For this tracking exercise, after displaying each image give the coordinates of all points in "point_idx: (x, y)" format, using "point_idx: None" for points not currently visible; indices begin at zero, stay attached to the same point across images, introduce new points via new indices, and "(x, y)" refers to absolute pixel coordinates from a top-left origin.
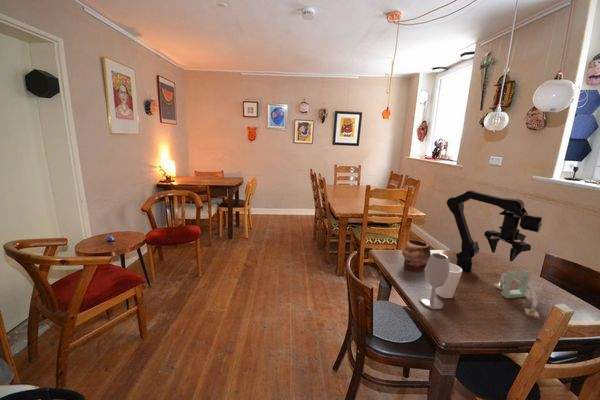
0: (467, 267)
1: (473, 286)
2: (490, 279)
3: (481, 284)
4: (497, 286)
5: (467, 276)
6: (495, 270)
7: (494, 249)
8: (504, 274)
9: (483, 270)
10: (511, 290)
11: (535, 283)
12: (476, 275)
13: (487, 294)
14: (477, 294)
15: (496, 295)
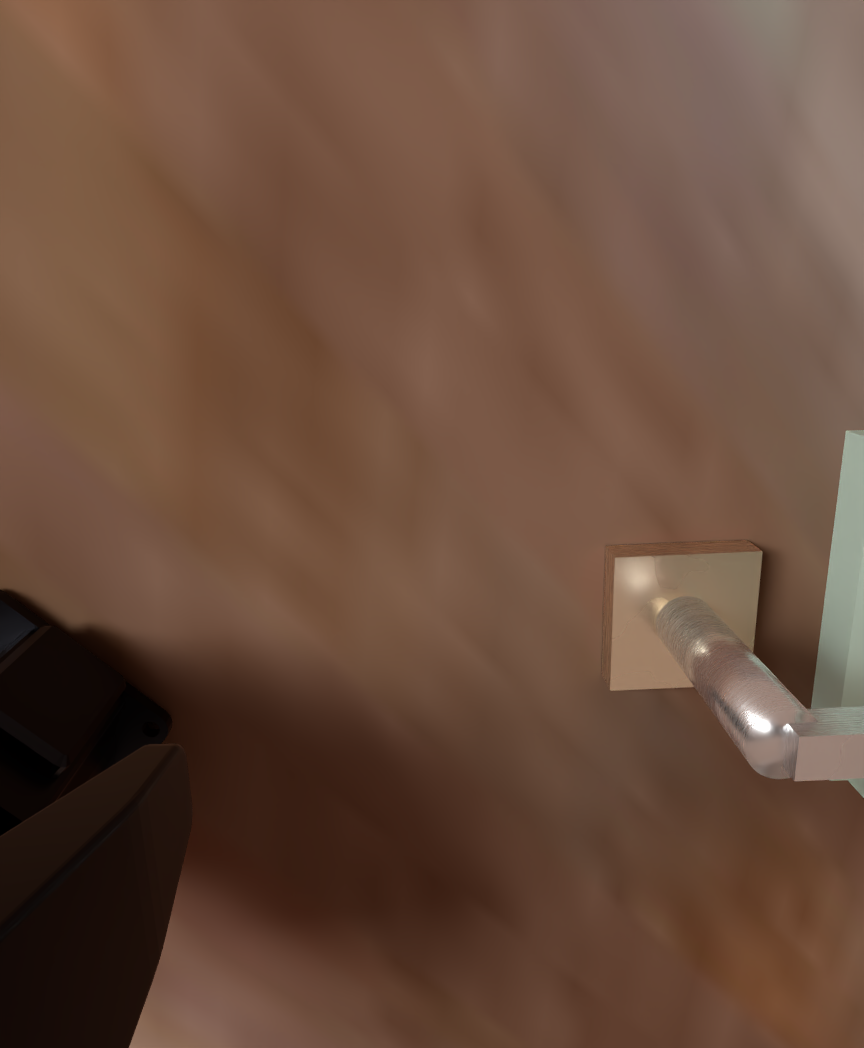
0: (94, 765)
1: (562, 945)
2: (416, 539)
3: (535, 806)
4: (680, 687)
5: (294, 831)
6: (70, 78)
7: (130, 887)
8: (822, 772)
9: (80, 373)
10: (859, 609)
11: None
12: (269, 668)
13: (762, 918)
14: (730, 1026)
15: (811, 829)
